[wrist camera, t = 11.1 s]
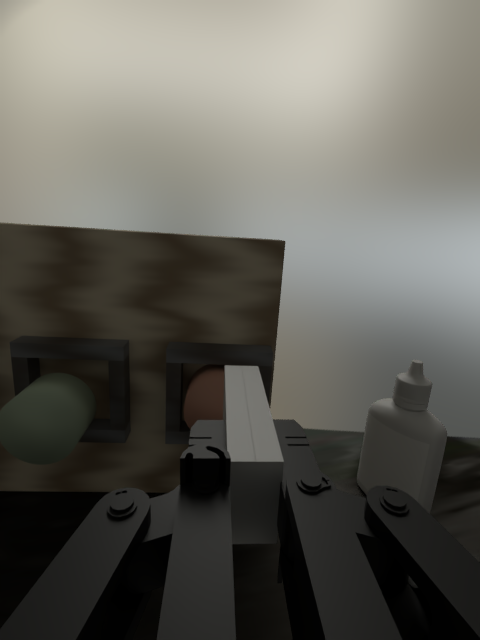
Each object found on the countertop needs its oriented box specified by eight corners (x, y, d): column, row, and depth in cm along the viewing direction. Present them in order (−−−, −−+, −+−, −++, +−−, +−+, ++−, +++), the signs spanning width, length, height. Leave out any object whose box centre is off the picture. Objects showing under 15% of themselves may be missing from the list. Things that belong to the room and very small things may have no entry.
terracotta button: (245, 418, 26) (249, 364, 25) (248, 442, 23) (253, 381, 22) (186, 417, 26) (188, 361, 25) (182, 440, 23) (184, 379, 22)
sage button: (97, 435, 23) (95, 373, 22) (80, 465, 20) (76, 395, 19) (28, 434, 23) (22, 371, 22) (0, 464, 20) (-9, 393, 19)
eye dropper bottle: (381, 528, 26) (410, 376, 23) (351, 476, 31) (371, 348, 28) (437, 526, 26) (473, 377, 23) (397, 475, 32) (422, 349, 29)
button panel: (258, 469, 31) (278, 239, 26) (264, 507, 27) (289, 241, 22) (-75, 464, 29) (-120, 215, 24) (-126, 505, 25) (-194, 211, 20)
